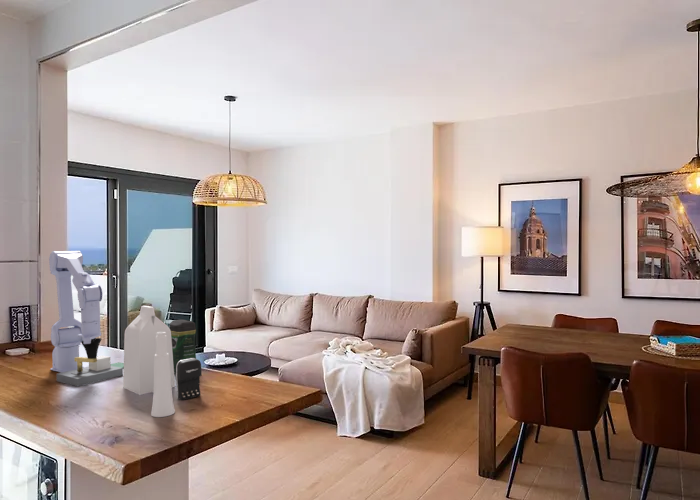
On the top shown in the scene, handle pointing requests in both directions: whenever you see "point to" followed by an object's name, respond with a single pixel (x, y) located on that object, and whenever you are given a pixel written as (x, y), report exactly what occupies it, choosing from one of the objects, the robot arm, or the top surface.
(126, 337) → the milk
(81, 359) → the brass lever handle
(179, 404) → the top surface
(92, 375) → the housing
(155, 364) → the cosmetic bottle
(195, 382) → the battery charger
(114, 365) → the mat
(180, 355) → the coffee jar
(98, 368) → the white square block
